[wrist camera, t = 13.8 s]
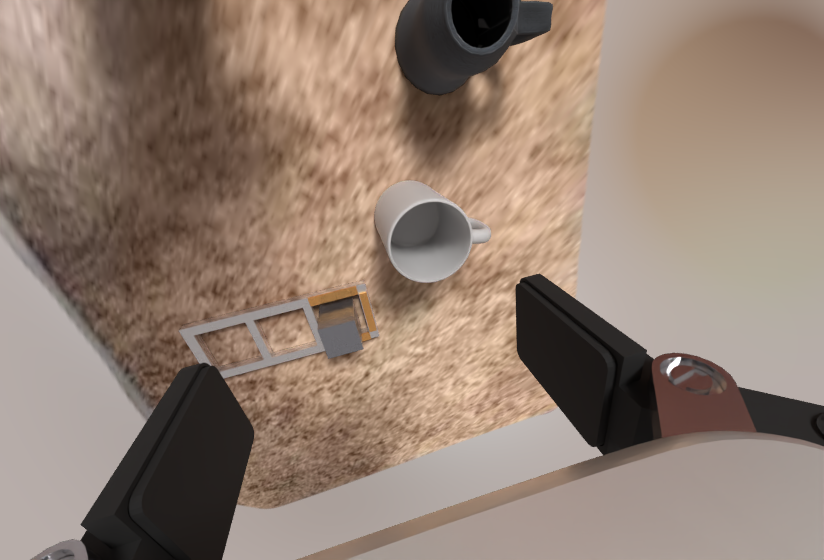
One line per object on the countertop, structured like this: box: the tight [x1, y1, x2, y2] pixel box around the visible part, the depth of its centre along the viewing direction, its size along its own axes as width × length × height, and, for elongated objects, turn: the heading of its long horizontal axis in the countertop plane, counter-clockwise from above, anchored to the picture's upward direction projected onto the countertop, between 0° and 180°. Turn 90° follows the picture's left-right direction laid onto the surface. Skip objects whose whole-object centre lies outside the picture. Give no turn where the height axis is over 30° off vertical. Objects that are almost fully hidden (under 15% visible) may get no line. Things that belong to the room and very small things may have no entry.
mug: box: [374, 180, 491, 283], centre depth 35 cm, size 12×8×11 cm
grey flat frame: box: [179, 280, 379, 379], centre depth 42 cm, size 9×23×1 cm, turn 100°
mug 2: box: [395, 0, 553, 95], centre depth 28 cm, size 12×9×11 cm
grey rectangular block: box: [317, 297, 363, 359], centre depth 41 cm, size 4×4×6 cm
